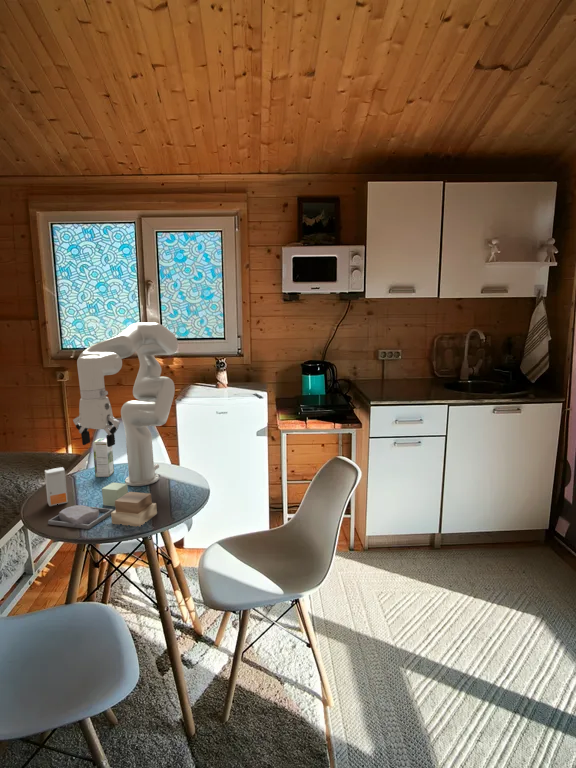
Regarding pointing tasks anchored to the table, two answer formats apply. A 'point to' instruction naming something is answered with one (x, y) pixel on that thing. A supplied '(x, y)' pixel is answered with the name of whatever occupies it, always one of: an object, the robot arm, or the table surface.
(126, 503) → the walnut block
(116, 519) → the beech block
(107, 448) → the syrup box
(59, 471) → the skincare box
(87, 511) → the stone block
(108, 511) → the tray rim
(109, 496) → the green cube
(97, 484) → the table surface
